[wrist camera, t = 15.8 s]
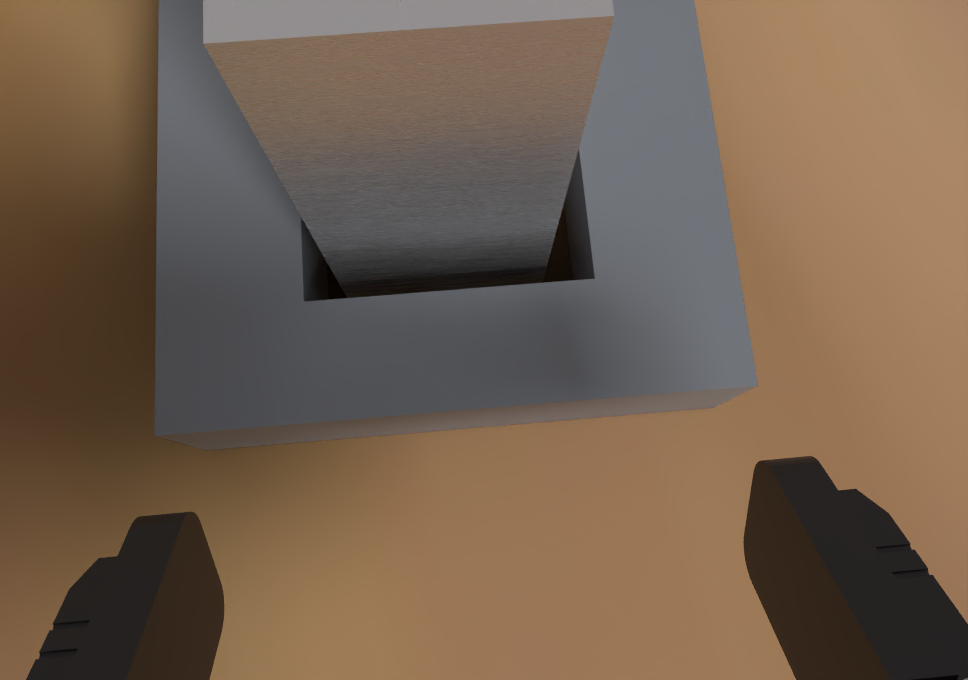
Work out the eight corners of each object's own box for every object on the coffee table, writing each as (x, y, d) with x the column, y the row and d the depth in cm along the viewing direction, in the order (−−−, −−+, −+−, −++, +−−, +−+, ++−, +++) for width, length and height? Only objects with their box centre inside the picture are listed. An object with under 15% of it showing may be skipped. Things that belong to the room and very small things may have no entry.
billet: (538, 297, 19) (614, 15, 9) (354, 311, 19) (202, 43, 9) (521, 130, 20) (570, -305, 10) (346, 142, 20) (202, -284, 10)
